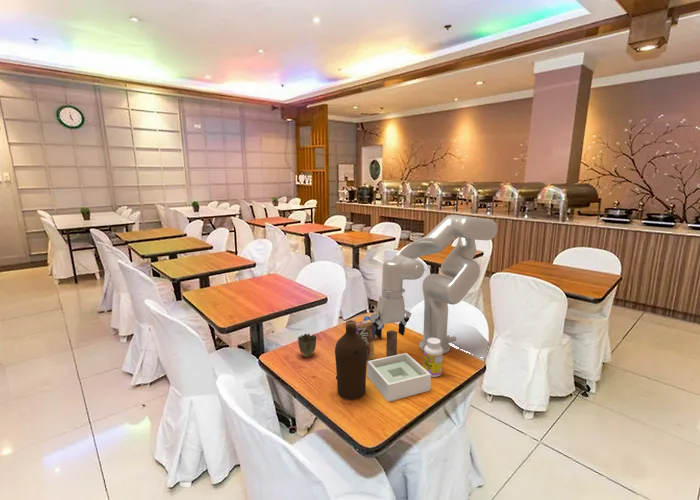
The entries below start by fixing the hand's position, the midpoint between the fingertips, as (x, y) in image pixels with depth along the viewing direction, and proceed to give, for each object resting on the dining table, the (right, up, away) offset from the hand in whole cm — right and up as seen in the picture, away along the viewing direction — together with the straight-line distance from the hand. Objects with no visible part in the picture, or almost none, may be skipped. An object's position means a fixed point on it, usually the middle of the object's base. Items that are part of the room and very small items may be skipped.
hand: (390, 335), depth 137 cm
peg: (+1, -11, +3) cm, 11 cm away
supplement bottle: (+15, -12, -6) cm, 20 cm away
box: (+1, -14, -12) cm, 18 cm away
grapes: (-6, -7, +22) cm, 24 cm away
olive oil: (-15, -15, -16) cm, 27 cm away
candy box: (-11, -11, +5) cm, 16 cm away
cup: (-32, -10, +8) cm, 35 cm away
